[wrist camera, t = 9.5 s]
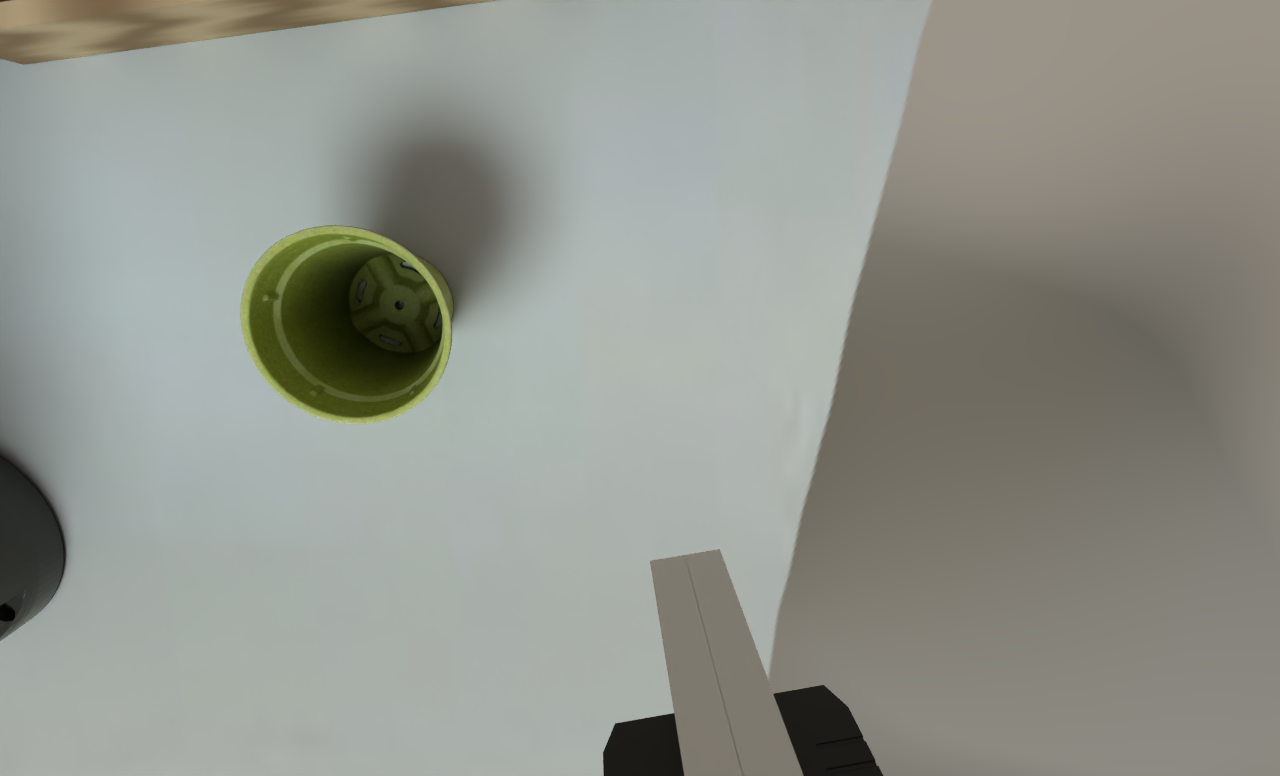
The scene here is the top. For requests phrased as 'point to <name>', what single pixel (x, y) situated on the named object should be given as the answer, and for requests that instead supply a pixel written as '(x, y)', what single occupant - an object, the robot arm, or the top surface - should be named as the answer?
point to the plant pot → (346, 324)
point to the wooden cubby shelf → (167, 22)
